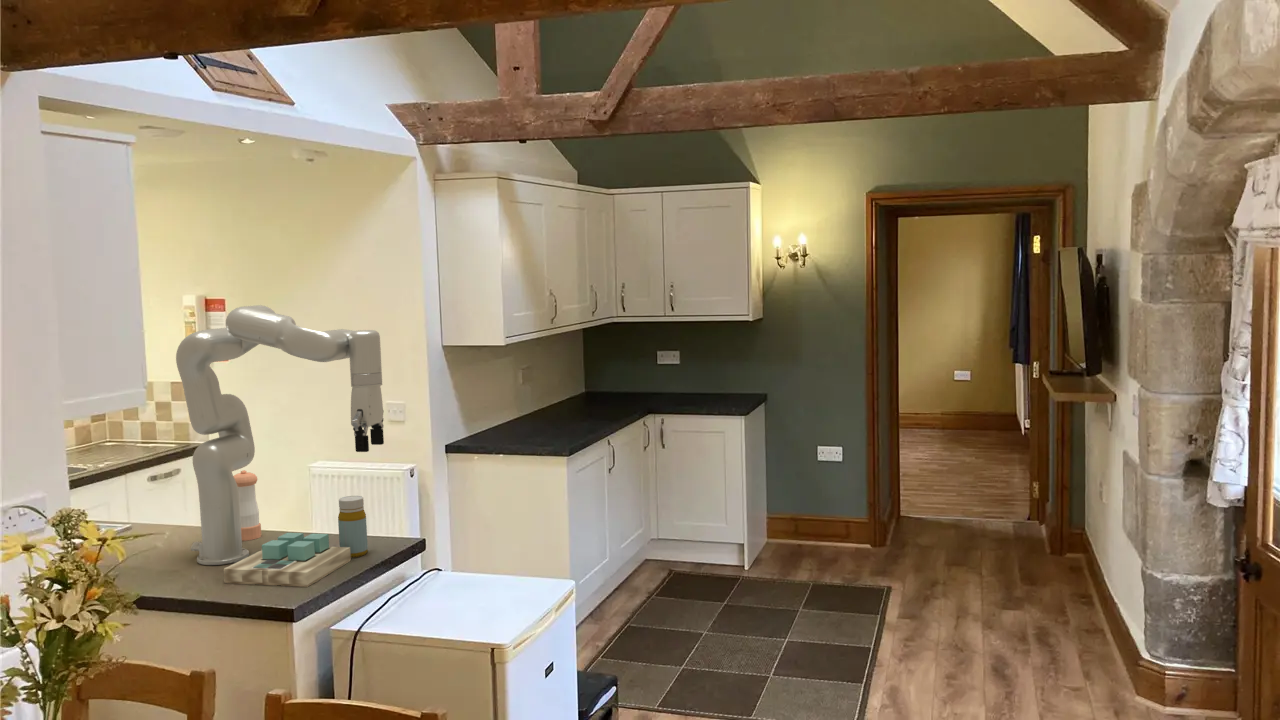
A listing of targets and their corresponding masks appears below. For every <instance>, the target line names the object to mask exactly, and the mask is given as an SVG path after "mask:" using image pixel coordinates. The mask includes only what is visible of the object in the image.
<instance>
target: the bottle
mask: <svg viewBox="0 0 1280 720" xmlns="http://www.w3.org/2000/svg"><path fill="white" fill-rule="evenodd" d="M364 501H365V500H364V497H363V496H362V495H347V496H346V495H345V496H342V497H340V498H339V499H338V507H339V510H338V511H339V513H338V516H337V523H338V524H337V525H338V540H339V541H338V542H339V547H350V554H351V559H352V558H353V559H354V558H359V557H363V556H365V555H366V554H367V553H368V551H369V550H368V549H369V546H368V544H369V543H368V530H367V529H368V528H367V514H366V512H365V510H364V509H365V508H364V507H365V505H364Z"/></svg>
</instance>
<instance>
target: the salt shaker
mask: <svg viewBox="0 0 1280 720" xmlns="http://www.w3.org/2000/svg"><path fill="white" fill-rule="evenodd" d="M233 477H234V479H235V481H236V483H237V486H238V492H239V505H240V520H241V536H242V542H244V541H251V540H252V541H253V540H257V539H259V538H261V537H262V525H261V522H260V510H259V507H258V502H257V498H256V495H257V494H256V484H257V482H258V476H257V475H256V474H255V473H253V472H247V470H240V472H239V473H236V474H234V475H233Z"/></svg>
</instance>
